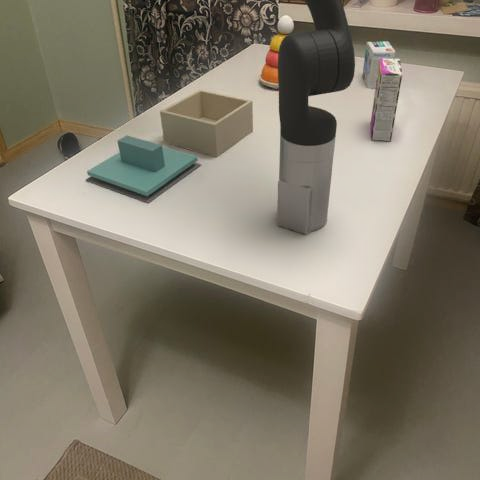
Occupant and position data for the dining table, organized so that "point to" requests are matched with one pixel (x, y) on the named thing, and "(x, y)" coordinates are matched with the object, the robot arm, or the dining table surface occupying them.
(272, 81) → the stacking toy
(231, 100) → the storage box
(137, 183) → the lid
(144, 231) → the dining table surface
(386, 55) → the light bulb box
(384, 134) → the candy bar box
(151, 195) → the rubber mat
